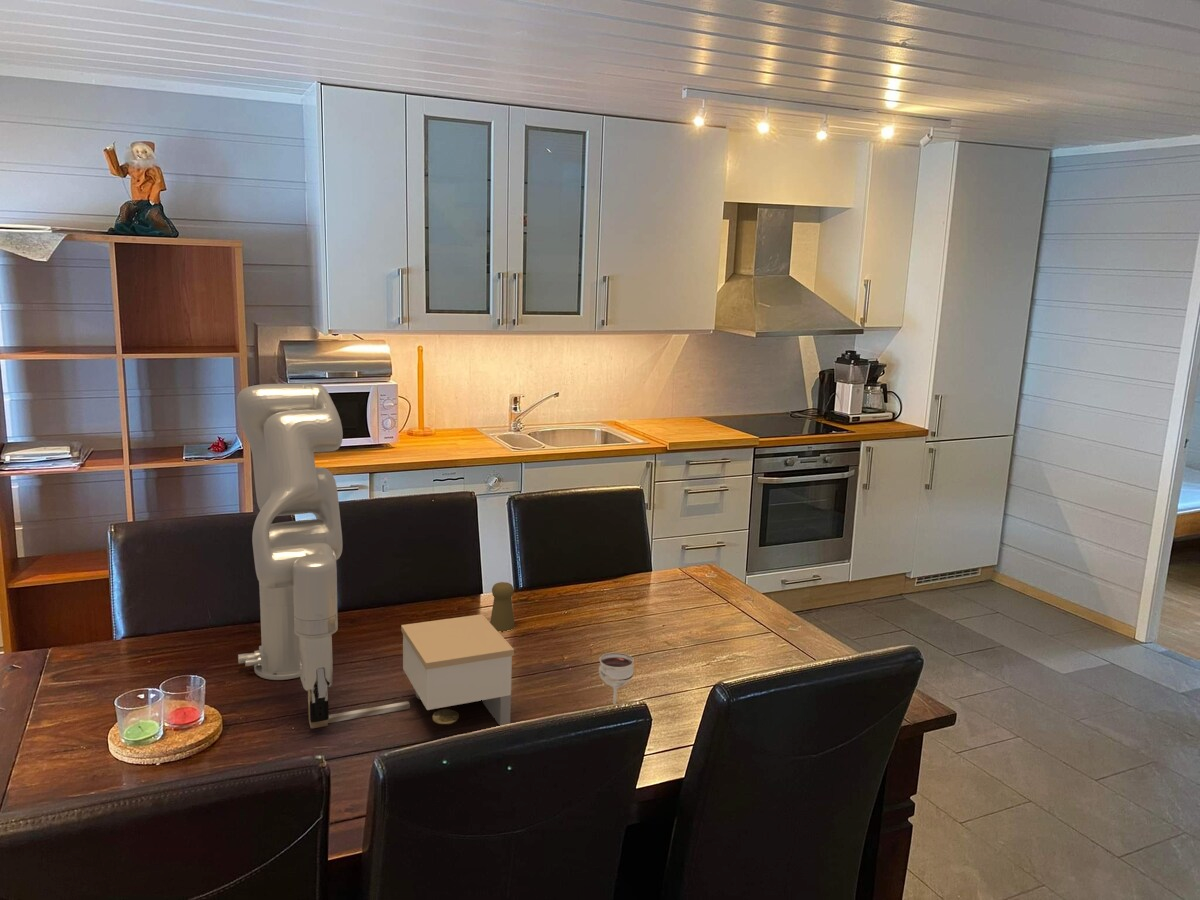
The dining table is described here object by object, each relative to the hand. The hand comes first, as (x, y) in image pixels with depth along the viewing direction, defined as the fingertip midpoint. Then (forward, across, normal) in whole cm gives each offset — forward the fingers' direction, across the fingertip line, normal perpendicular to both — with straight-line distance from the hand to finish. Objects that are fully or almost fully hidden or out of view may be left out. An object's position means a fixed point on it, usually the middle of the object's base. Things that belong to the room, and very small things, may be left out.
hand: (318, 715), depth 163 cm
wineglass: (+2, +18, +53) cm, 56 cm away
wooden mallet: (+2, 0, +8) cm, 8 cm away
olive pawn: (+2, -32, +47) cm, 57 cm away
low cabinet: (+2, +4, +25) cm, 25 cm away
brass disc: (+2, +6, +22) cm, 23 cm away
